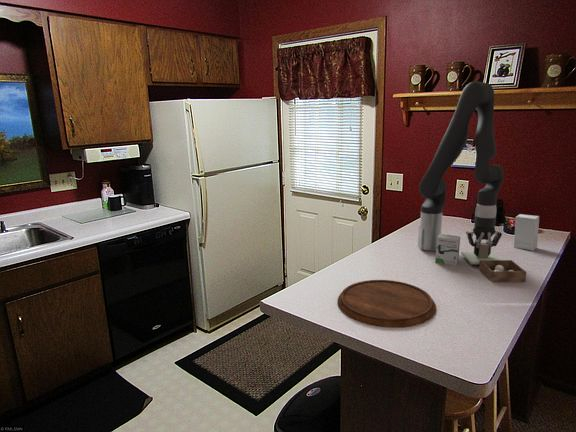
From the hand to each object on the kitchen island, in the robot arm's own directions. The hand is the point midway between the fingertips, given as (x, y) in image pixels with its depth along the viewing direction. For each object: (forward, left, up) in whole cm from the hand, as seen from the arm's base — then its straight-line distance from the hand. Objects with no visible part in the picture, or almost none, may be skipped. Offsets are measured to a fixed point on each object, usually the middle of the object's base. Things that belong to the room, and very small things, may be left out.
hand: (481, 255), depth 170 cm
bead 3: (+5, -17, -3) cm, 18 cm away
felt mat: (0, 0, -3) cm, 3 cm away
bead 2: (+2, -12, -3) cm, 12 cm away
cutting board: (-44, -37, -4) cm, 58 cm away
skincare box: (+26, +19, -4) cm, 33 cm away
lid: (0, 0, -1) cm, 1 cm away
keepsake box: (+2, -15, -3) cm, 15 cm away
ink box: (-14, -1, -4) cm, 14 cm away
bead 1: (-1, -17, -3) cm, 17 cm away
